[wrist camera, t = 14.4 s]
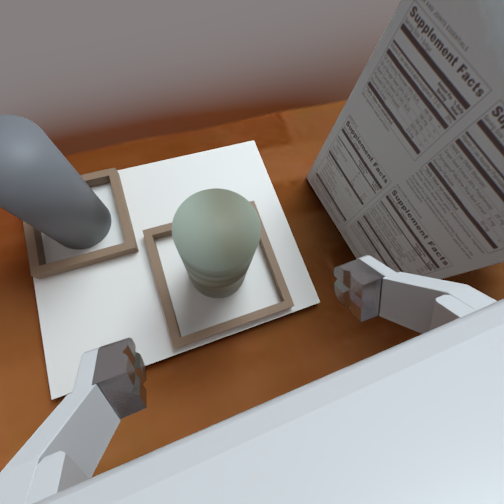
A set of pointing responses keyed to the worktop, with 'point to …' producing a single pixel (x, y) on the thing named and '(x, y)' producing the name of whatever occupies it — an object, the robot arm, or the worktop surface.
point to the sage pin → (216, 239)
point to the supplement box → (423, 143)
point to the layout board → (137, 250)
